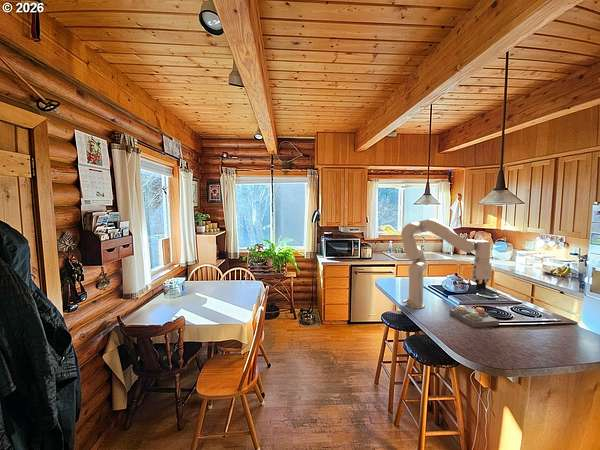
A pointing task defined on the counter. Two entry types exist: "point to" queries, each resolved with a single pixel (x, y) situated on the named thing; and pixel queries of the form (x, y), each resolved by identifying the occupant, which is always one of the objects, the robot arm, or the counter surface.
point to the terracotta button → (480, 310)
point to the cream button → (461, 308)
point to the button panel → (481, 321)
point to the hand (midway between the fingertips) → (480, 289)
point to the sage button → (474, 314)
